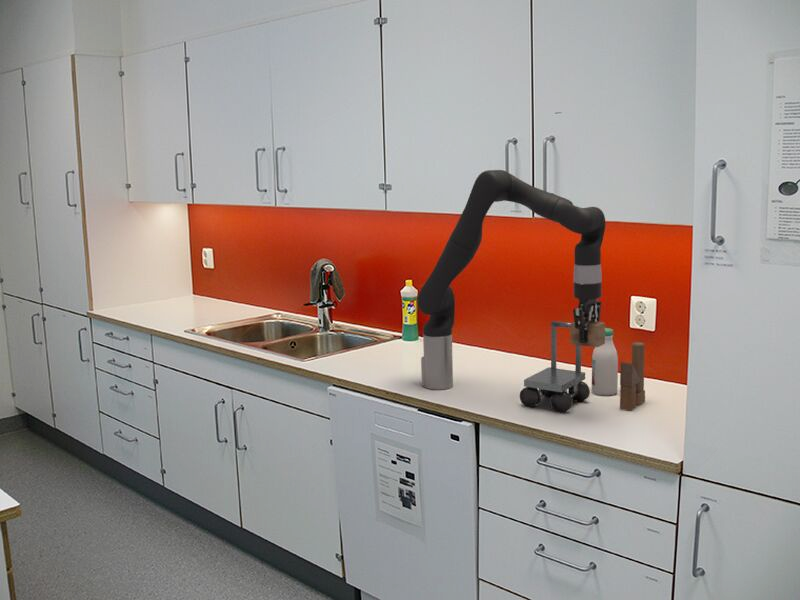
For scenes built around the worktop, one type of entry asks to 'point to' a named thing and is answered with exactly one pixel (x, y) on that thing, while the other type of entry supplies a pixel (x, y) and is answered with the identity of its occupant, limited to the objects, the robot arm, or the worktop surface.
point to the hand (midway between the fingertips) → (587, 340)
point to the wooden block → (633, 379)
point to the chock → (589, 334)
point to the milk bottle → (605, 367)
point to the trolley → (556, 380)
